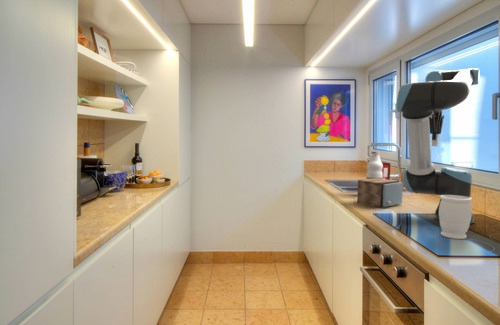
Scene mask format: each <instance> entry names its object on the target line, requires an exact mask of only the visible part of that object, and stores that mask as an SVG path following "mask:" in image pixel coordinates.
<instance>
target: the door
mask: <svg viewBox="0 0 500 325" xmlns="http://www.w3.org/2000/svg"><path fill="white" fill-rule="evenodd" d="M403 187H404V181H402V182H400V181H399V183H392V184H384V185H383V207H382V208H386V207H389V206H396V205H400V204H402V203H403V190H404V189H403Z"/></svg>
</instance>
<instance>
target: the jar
mask: <svg viewBox="0 0 500 325" xmlns="http://www.w3.org/2000/svg"><path fill="white" fill-rule="evenodd" d="M440 199H441V202H440V201H439V202H440V206H439V219H440V220H439V226H440V228H441V232H440V235H441V236H443V237H445V238H449V239H454V240H465V239H467V238H468V236H467V234H466V233H467V232H468V231H469V229H470V225H471V224H470V221H471V217H472V213H473V210H472V204H471V203H472V202H473V199H474V198H472V197H471V196H470V197H466V196H459V195H439V200H440Z"/></svg>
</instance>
